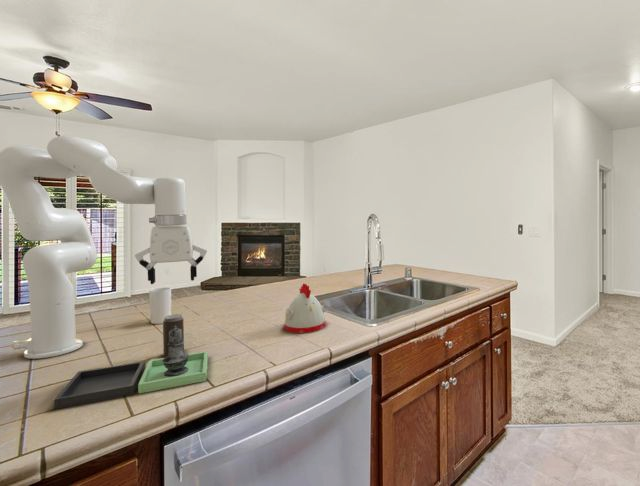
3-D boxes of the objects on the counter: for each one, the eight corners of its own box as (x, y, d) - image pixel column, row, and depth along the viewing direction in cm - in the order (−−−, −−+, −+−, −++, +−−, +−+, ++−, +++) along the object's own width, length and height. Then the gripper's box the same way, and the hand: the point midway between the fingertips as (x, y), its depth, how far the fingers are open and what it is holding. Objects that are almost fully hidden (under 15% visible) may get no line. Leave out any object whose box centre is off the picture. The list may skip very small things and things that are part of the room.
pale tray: (138, 393, 83) (138, 384, 83) (149, 368, 96) (149, 360, 96) (206, 380, 89) (205, 372, 89) (207, 358, 102) (207, 351, 102)
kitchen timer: (292, 335, 120) (292, 290, 119) (279, 324, 131) (278, 283, 130) (331, 327, 128) (331, 284, 127) (315, 317, 139) (315, 278, 138)
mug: (172, 321, 134) (172, 289, 134) (150, 325, 130) (150, 292, 130) (169, 315, 142) (168, 284, 142) (148, 318, 138) (147, 287, 138)
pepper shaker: (162, 359, 101) (161, 320, 101) (164, 352, 106) (164, 315, 106) (183, 355, 104) (182, 317, 103) (184, 349, 108) (184, 312, 108)
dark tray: (54, 409, 76) (53, 399, 76) (78, 379, 89) (78, 371, 89) (133, 394, 82) (133, 385, 82) (145, 368, 95) (145, 360, 95)
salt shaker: (194, 366, 95) (193, 321, 95) (181, 377, 89) (180, 328, 89) (171, 367, 95) (170, 321, 95) (157, 377, 89) (155, 329, 89)
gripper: (131, 222, 96) (133, 287, 97) (205, 221, 104) (207, 280, 104) (136, 222, 103) (139, 282, 103) (206, 220, 110) (207, 276, 111)
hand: (173, 281), depth 104 cm, fingers open, 9 cm apart
